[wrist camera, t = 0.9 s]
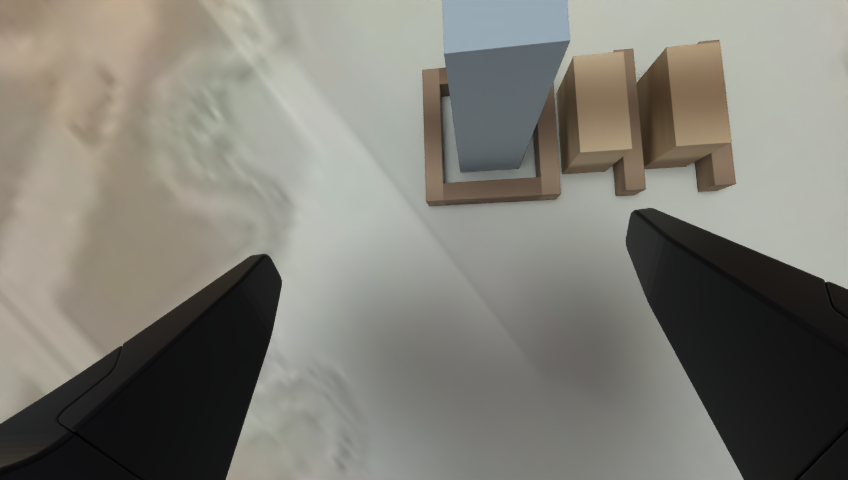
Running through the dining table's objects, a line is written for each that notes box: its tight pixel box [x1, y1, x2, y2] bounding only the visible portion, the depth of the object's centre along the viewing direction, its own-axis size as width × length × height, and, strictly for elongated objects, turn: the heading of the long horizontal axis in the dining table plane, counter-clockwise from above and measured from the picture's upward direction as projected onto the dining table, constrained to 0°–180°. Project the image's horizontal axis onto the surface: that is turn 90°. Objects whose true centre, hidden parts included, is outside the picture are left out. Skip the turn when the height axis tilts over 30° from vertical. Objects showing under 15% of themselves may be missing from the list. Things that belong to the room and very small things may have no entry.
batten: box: [442, 0, 570, 172], centre depth 17 cm, size 4×4×12 cm
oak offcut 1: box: [557, 51, 632, 174], centre depth 21 cm, size 5×2×4 cm, turn 2°
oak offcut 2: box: [636, 42, 731, 169], centre depth 20 cm, size 5×2×4 cm, turn 2°
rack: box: [422, 40, 736, 206], centre depth 22 cm, size 8×16×2 cm, turn 92°
